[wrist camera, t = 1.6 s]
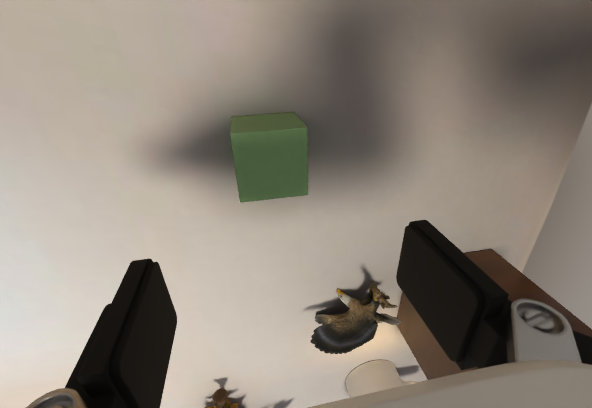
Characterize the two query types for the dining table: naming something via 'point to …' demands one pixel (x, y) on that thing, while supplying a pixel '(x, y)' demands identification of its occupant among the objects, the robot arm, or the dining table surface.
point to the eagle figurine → (352, 323)
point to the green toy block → (270, 156)
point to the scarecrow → (222, 400)
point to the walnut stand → (517, 288)
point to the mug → (374, 378)
